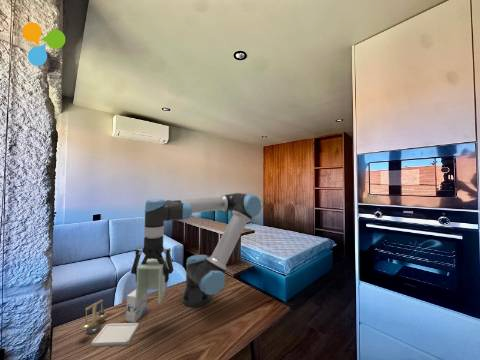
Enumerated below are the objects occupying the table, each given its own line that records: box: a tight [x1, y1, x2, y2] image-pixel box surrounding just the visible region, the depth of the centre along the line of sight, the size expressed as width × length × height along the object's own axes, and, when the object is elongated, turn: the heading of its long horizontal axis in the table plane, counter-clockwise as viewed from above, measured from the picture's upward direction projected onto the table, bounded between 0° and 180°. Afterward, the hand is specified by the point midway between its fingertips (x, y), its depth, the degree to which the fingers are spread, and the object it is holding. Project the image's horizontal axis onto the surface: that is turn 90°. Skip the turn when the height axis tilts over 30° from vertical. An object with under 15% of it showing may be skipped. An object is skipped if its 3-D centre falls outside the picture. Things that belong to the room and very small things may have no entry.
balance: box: [79, 299, 108, 336], centre depth 86 cm, size 14×5×12 cm, turn 5°
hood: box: [135, 257, 169, 304], centre depth 86 cm, size 9×11×14 cm
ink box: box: [125, 288, 148, 323], centre depth 96 cm, size 9×5×12 cm, turn 169°
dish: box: [90, 322, 140, 348], centre depth 83 cm, size 14×10×1 cm
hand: (151, 289), depth 85 cm, fingers closed on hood, 9 cm apart
